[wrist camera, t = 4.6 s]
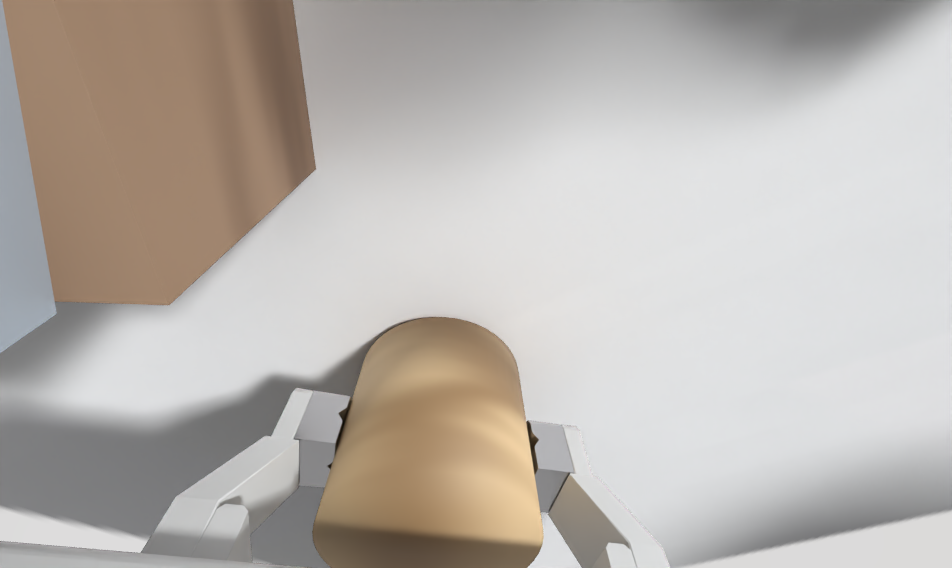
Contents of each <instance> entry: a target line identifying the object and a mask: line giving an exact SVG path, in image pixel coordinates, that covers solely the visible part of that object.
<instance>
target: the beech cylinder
mask: <svg viewBox="0 0 952 568" xmlns="http://www.w3.org/2000/svg"><path fill="white" fill-rule="evenodd" d="M312 533H313V541H314V545H315V548H316V550H317V551H318V553H319V555H320V556H321V558H322V559H323V560H324V561H325V562H326V564H328V565H329V566H330V567H331V568H527V567H528V566H529V565H530V564H531V563H532V562H533V561H534V559H535V558H536V556H537V555H538V554H539V551H540V549H541V547H542V543H543V526H542V520H541V513H540V507H539V500H538V494H537V488H536V481H535V475H534V468H533V462H532V456H531V449H530V443H529V436H528V430H527V424H526V417H525V411H524V404H523V398H522V392H521V385H520V379H519V372H518V367H517V364H516V361H515V358H514V356H513V354H512V353H511V351H510V349H509V348H508V347H507V346H506V344H505V343H504V342H503V341H502V340H501V339H500V338H498V337H497V336H496V335H495V334H493V333H492V332H490V331H489V330H487V329H485V328H483V327H481V326H479V325H477V324H474V323H471V322H468V321H464V320H460V319H455V318H446V317H431V318H422V319H417V320H413V321H409V322H406V323H403V324H401V325H399V326H396V327H394V328H392V329H391V330H389V331H388V332H386V333H385V334H383V335H382V336H381V337H380V338H379V339H377V340H376V342H375V343H374V344H373V345H372V346H371V348H370V349H369V351H368V353H367V354H366V357H365V359H364V362H363V365H362V368H361V372H360V375H359V378H358V381H357V385H356V388H355V391H354V394H353V398H352V401H351V405H350V408H349V411H348V414H347V418H346V421H345V424H344V427H343V430H342V434H341V437H340V440H339V444H338V447H337V450H336V453H335V457H334V459H333V463H332V466H331V469H330V472H329V476H328V479H327V482H326V485H325V489H324V492H323V495H322V498H321V502H320V505H319V508H318V511H317V515H316V518H315V521H314V525H313V531H312Z"/></svg>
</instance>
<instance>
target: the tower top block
mask: <svg viewBox="0 0 952 568" xmlns="http://www.w3.org/2000/svg"><path fill="white" fill-rule="evenodd" d="M56 314H57V312H56V306H55V301H54V295H53V290H52V284H51V278H50V272H49V267H48V261H47V255H46V249H45V244H44V238H43V232H42V226H41V221H40V215H39V209H38V204H37V198H36V192H35V186H34V181H33V175H32V169H31V163H30V158H29V152H28V146H27V140H26V135H25V129H24V123H23V117H22V112H21V106H20V100H19V94H18V89H17V83H16V77H15V72H14V66H13V60H12V54H11V49H10V43H9V37H8V31H7V26H6V20H5V14H4V8H3V3H2V0H0V353H1V352H2V351H4V350H5V349H7V348H8V347H10V346H11V345H13V344H14V343H15V342H17V341H18V340H20V339H21V338H23V337H24V336H26V335H27V334H28V333H30V332H31V331H33V330H34V329H36V328H37V327H39V326H40V325H41V324H43V323H44V322H46V321H47V320H49V319H50V318H52V317H53V316H54V315H56Z"/></svg>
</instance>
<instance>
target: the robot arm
mask: <svg viewBox="0 0 952 568" xmlns="http://www.w3.org/2000/svg"><path fill="white" fill-rule="evenodd" d="M351 399H352V397H351V396H346V395H339V394H333V393H327V392H321V391H313V390H307V389H301V388H295V390H294V391H293V392H292V393H291V396H290V398H289V400H288V402H287V404H286V406H285V408H284V410H283V412H282V414H281V416H280V418H279V420H278V422H277V425H276V427H275V429H274V431H273V433H272V435H271V436H264V437H263V438H261V439H260V440H258V441H257V442H255V443H254V444H252V445H251V446H249V447H248V448H246V449H245V450H243V451H242V452H241V453H239V454H238V455H236V456H235V457H233V458H232V459H230V460H229V461H227V462H226V463H224V464H223V465H222V466H220V467H219V468H217V469H216V470H214V471H213V472H211V473H210V474H208V475H207V476H205V477H204V478H202V479H201V480H200V481H198V482H197V483H195V484H194V485H192V486H191V487H189V488H188V489H186V490H185V491H183V492H182V493H181V494H179V495H178V496H176V497H175V499H174V500H173V502H172V504H171V505H170V507H169V508H168V510H167V512H166V513H165V515H164V516H163V518H162V520H161V521H160V523H159V524H158V526H157V527H156V529H155V531H154V532H153V534H152V535H151V537H150V539H149V540H148V542H147V543H146V545H145V547H144V548H143V550H142V551H141V553H132V552H121V551H110V550H97V549H86V548H75V547H63V546H52V545H40V544H29V543H28V544H27V543H17V542H5V541H0V568H309V567H297V566H286V565H274V564H262V563H253V562H252V551H251V539H250V535H251V534H252V533H253V532H254V531H255V530H256V529H257V528H258V527H259V526H260V525H261V524H262V523H263V522H264V521H265V520H266V519H267V518H268V517H269V516H270V515H271V514H272V513H273V512H274V511H275V510H276V509H277V508H278V507H279V506H280V505H281V504H282V503H283V502H284V501H285V500H286V499H288V498H289V497H290V496H291V495H292V494H293V493H294V492H295V491H296V490H297V489H298V488H299V486H310V487H322V488H325V485H326V482H327V479H328V476H329V472H330V469H331V466H332V463H333V459H334V457H335V453H336V450H337V447H338V444H339V440H340V437H341V434H342V430H343V427H344V424H345V421H346V418H347V414H348V411H349V408H350V405H351ZM526 424H527V430H528V436H529V443H530V449H531V456H532V462H533V468H534V475H535V481H536V488H537V494H538V500H539V507H540V512H546V513H549V514H548V515H549V517H550V518H551V520H552V521H553V523H554V524H555V526H556V528H557V529H558V531H559V532H560V534H561V535H562V537H563V539H564V540H565V542H566V543H567V545H568V546H569V548H570V550H571V551H572V553H573V554H574V556H575V557H576V559H577V561H578V562H579V564H580V565H581V567H582V568H670V565H669V563H668V560H667V557H666V555H665V552H664V550H663V547H662V546H661V545H660V544H659V543H658V542H657V540H656V539H655V538H654V537H653V536H652V535H651V534H650V533H649V532H648V531H647V530H646V528H645V527H644V526H643V525H642V524H641V523H640V522H639V521H638V520H637V519H636V518H635V516H634V515H633V514H632V513H631V512H630V511H629V510H628V509H627V508H626V507H625V506H624V505H623V503H622V502H621V501H620V500H619V499H618V498H617V497H616V496H615V495H614V494H613V493H612V491H611V490H610V489H609V488H608V487H607V486H606V485H605V484H604V483H603V482H602V481H601V479H600V478H599V477H597V476H593V474H592V470H591V467H590V464H589V460H588V457H587V453H586V450H585V447H584V443H583V440H582V437H581V433H580V430H579V429H578V427H575V426H568V425H559V424H553V423H545V422H537V421H529V420H528V421H527V422H526Z"/></svg>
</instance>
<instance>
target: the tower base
mask: <svg viewBox="0 0 952 568" xmlns="http://www.w3.org/2000/svg"><path fill="white" fill-rule="evenodd" d="M2 3H3V8H4V14H5V20H6V26H7V31H8V37H9V43H10V49H11V54H12V60H13V66H14V72H15V77H16V83H17V89H18V94H19V100H20V106H21V112H22V117H23V123H24V129H25V135H26V140H27V146H28V152H29V158H30V163H31V169H32V175H33V181H34V186H35V192H36V198H37V204H38V209H39V215H40V221H41V226H42V232H43V238H44V244H45V249H46V255H47V261H48V267H49V272H50V278H51V284H52V290H53V295H54V301H55V302H86V303H117V304H148V305H170V304H171V303H172V302H173V301H174V300H175V299H176V298H177V297H178V296H180V295H181V294H182V293H183V292H184V291H185V290H186V289H187V288H188V287H189V286H190V285H191V284H192V283H194V282H195V281H196V280H197V279H198V278H199V277H200V276H201V275H202V274H203V273H204V272H205V271H206V270H208V269H209V268H210V267H211V266H212V265H213V264H214V263H215V262H216V261H217V260H218V259H219V258H220V257H222V256H223V255H224V254H225V253H226V252H227V251H228V250H229V249H230V248H231V247H232V246H233V245H235V244H236V243H237V242H238V241H239V240H240V239H241V238H242V237H243V236H244V235H245V234H246V233H247V232H249V231H250V230H251V229H252V228H253V227H254V226H255V225H256V224H257V223H258V222H259V221H260V220H261V219H263V218H264V217H265V216H266V215H267V214H268V213H269V212H270V211H271V210H272V209H273V208H274V207H275V206H277V205H278V204H279V203H280V202H281V201H282V200H283V199H284V198H285V197H286V196H287V195H288V194H289V193H291V192H292V191H293V190H294V189H295V188H296V187H297V186H298V185H299V184H300V183H301V182H302V181H303V180H305V179H306V178H307V177H308V176H309V175H310V174H311V173H312V172H313V171H314V170H315V169H316V167H315V159H314V152H313V145H312V137H311V130H310V123H309V116H308V108H307V101H306V94H305V87H304V79H303V72H302V65H301V58H300V50H299V43H298V36H297V29H296V21H295V14H294V7H293V0H2Z"/></svg>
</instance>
